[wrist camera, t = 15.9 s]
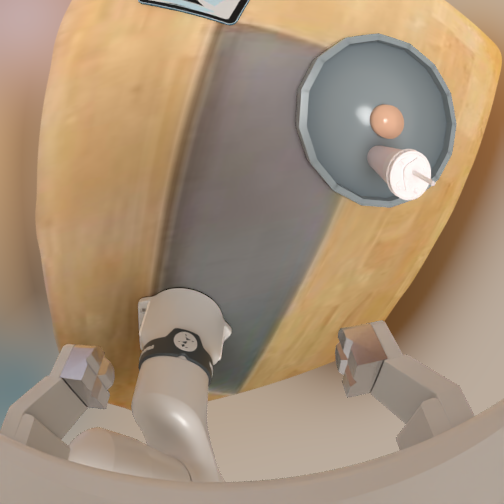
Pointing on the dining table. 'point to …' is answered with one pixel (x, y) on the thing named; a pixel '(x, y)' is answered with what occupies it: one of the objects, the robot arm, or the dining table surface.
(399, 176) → the smoothie
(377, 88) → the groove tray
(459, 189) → the dining table surface
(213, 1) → the smartphone
